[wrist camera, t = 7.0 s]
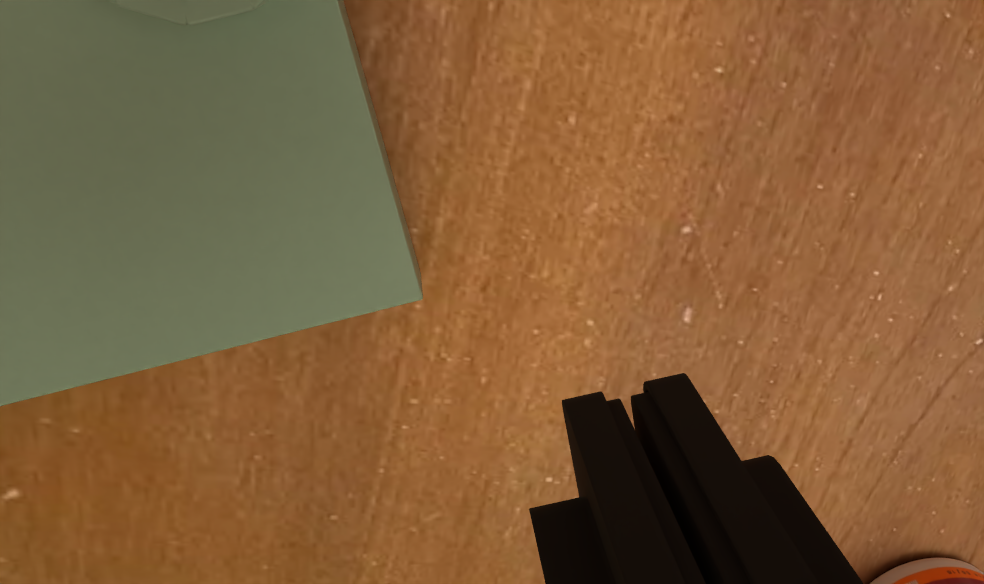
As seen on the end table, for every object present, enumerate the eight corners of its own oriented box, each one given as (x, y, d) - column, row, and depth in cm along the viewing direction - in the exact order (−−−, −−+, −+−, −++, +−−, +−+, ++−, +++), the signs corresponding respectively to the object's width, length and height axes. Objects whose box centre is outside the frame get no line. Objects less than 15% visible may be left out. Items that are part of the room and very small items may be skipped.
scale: (283, -284, 20) (262, -324, 17) (435, 271, 26) (442, 319, 23) (-407, -115, 20) (-561, -123, 17) (-96, 405, 26) (-166, 473, 22)
